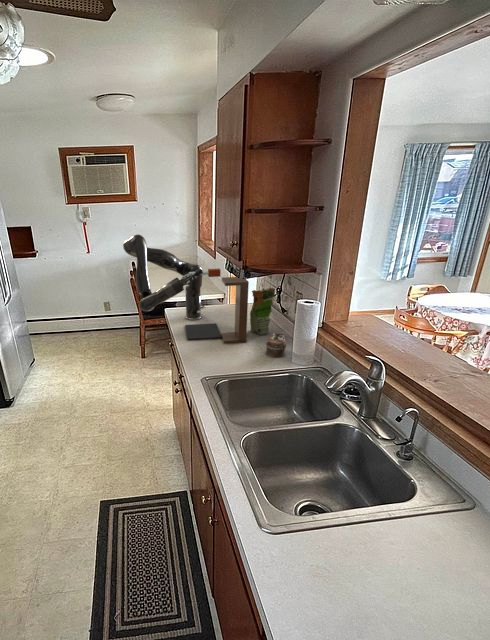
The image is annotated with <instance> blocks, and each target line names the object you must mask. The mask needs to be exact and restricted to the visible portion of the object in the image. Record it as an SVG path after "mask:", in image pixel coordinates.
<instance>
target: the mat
mask: <svg viewBox="0 0 490 640" xmlns="http://www.w3.org/2000/svg"><path fill="white" fill-rule="evenodd" d="M185 331H186V336H187V341H202V340H219V339H220V340H221V339H222V337H221V332H220V330H219V327H218V325H217V323H216V322H215V323H196V324H195V323H194V324H185Z"/></svg>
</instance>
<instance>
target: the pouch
mask: <svg viewBox="0 0 490 640" xmlns="http://www.w3.org/2000/svg"><path fill="white" fill-rule="evenodd" d="M275 291H276V288H274V287H269V288H266V289H265V288H264V287H263V288H262V289H261V290H260V289H259V290H255V289H253V290H251V293H252V297H253V300H252V301H253V302H252V305H251V309H250V314H249V317H250V318H249V320H250V321H249V323H250V332H253V333H257V334H258V335H259V336H262V335H263V336H265V335H268V333H269V330H270V322H271V318H270V317H271V313H272V312H273V309H272V306H273V305H274V298H275V294H276V292H275Z"/></svg>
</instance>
